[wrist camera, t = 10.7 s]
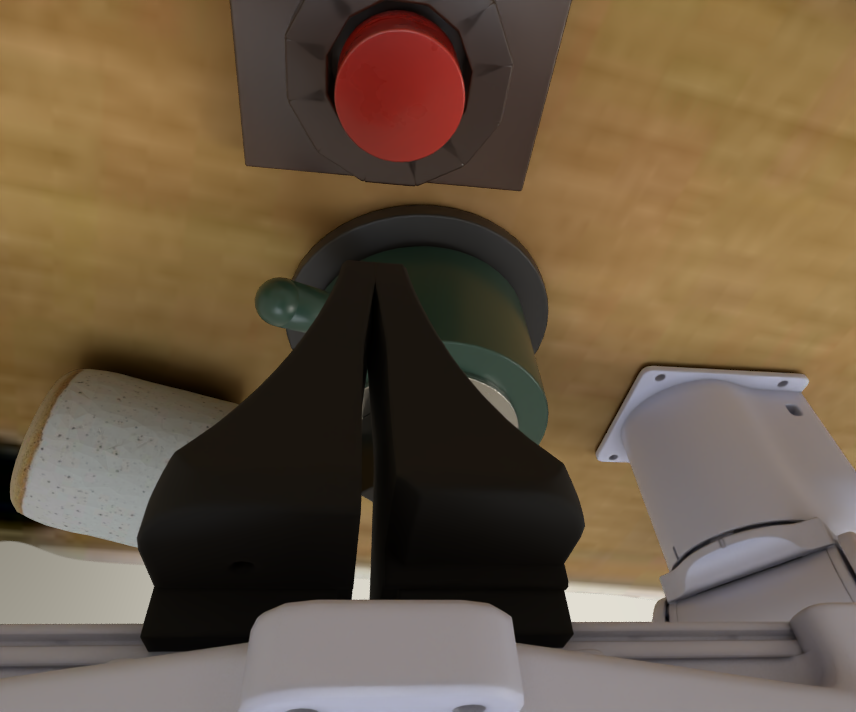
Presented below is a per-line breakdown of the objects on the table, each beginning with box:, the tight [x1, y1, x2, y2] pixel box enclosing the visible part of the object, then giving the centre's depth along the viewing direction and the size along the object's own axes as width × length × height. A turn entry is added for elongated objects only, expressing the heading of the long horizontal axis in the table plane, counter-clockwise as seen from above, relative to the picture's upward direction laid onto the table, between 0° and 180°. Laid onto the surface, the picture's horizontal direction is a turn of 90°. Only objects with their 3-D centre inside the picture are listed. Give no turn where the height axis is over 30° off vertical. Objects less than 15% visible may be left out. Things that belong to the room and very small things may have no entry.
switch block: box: [230, 0, 572, 191], centre depth 18 cm, size 10×8×3 cm
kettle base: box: [286, 205, 548, 355], centre depth 27 cm, size 12×12×1 cm
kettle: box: [255, 246, 548, 502], centre depth 23 cm, size 16×10×9 cm, turn 39°
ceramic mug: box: [10, 369, 238, 547], centre depth 28 cm, size 11×8×8 cm
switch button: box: [334, 10, 465, 162], centre depth 17 cm, size 4×4×2 cm
